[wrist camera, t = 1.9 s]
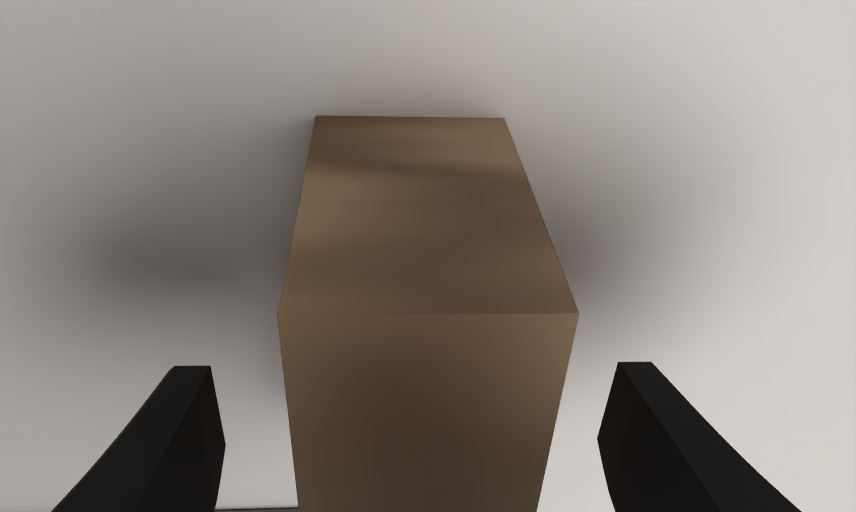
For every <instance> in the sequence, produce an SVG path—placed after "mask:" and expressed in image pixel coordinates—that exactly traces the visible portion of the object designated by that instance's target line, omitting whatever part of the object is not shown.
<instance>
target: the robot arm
mask: <svg viewBox="0 0 856 512" xmlns="http://www.w3.org/2000/svg"><path fill="white" fill-rule="evenodd" d="M597 440H598V445H599V450H600V455H601V460H602V464H603V469H604V473H605V478H606V482H607V486H608V490H609V494H610V497H611V500H612V503H613V506H614V509H615V512H801V511H800V510H799V509H798V508H797V507H795V506H794V505H793V504H792V503H791V502H790V501H789V500H788V499H787V498H785V497H784V496H783V495H782V494H781V493H780V492H779V491H778V490H777V489H776V488H774V487H773V486H772V485H771V484H770V483H769V482H768V481H767V480H766V479H765V478H764V477H762V476H761V475H760V474H759V473H758V472H757V471H756V470H755V469H754V468H753V467H752V466H751V465H750V464H749V463H748V462H747V461H746V460H745V459H744V458H743V457H742V456H741V455H740V454H739V453H738V452H737V451H736V450H735V449H734V448H733V447H732V446H731V445H730V444H729V443H728V442H727V441H726V440H725V439H724V438H723V437H722V436H721V435H720V434H719V433H718V432H717V431H716V430H715V429H714V428H713V427H712V426H711V425H710V424H709V423H708V422H707V421H706V420H705V419H704V418H703V417H702V416H701V414H700V413H699V412H698V411H697V410H696V409H695V408H694V407H693V406H692V405H691V404H690V403H689V402H688V401H687V400H686V398H685V397H684V396H683V395H682V394H681V393H680V392H679V391H678V390H677V389H676V388H675V387H674V386H673V385H672V383H671V382H670V381H669V380H668V379H667V378H666V377H665V376H664V375H663V374H662V373H661V372H660V371H659V369H658V368H657V367H656V366H655V365H654V364H653V363H652V362H618V364H617V368H616V372H615V375H614V379H613V383H612V386H611V390H610V394H609V397H608V401H607V405H606V408H605V412H604V416H603V419H602V423H601V427H600V430H599V434H598V438H597ZM225 446H226V444H225V439H224V434H223V429H222V423H221V418H220V413H219V408H218V403H217V397H216V392H215V387H214V382H213V377H212V372H211V366H174V367H173V368H172V369H171V370H169V371H168V373H167V374H166V375H165V377H164V378H163V379H162V381H161V382H160V383H159V385H158V386H157V387H156V389H155V390H154V391H153V393H152V394H151V395H150V397H149V398H148V399H147V400H146V402H145V403H144V404H143V406H142V407H141V408H140V409H139V411H138V412H137V413H136V415H135V416H134V417H133V418H132V420H131V421H130V422H129V423H128V425H127V426H126V427H125V428H124V430H123V431H122V432H121V433H120V434H119V436H118V437H117V438H116V439H115V440H114V442H113V443H112V444H111V445H110V446H109V448H108V449H107V450H106V451H105V452H104V453H103V455H102V456H101V457H100V458H99V459H98V461H97V462H96V463H95V464H94V465H93V466H92V468H91V469H90V470H89V471H88V472H87V473H86V474H85V476H84V477H83V478H82V479H81V480H80V481H79V482H78V483H77V484H76V485H75V486H74V488H73V489H72V490H71V491H70V492H69V493H68V494H67V495H66V496H65V497H64V498H63V499H62V501H61V502H60V503H59V504H58V505H57V506H56V507H55V508H54V509H53V510H52V511H51V512H214V509H215V506H216V502H217V496H218V491H219V485H220V479H221V472H222V466H223V459H224V453H225Z"/></svg>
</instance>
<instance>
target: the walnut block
mask: <svg viewBox="0 0 856 512" xmlns="http://www.w3.org/2000/svg"><path fill="white" fill-rule="evenodd" d="M578 316H579V312H578V310H577V307H576V304H575V302H574V299H573V297H572V294H571V291H570V289H569V286H568V283H567V281H566V278H565V276H564V273H563V270H562V268H561V265H560V263H559V260H558V257H557V255H556V252H555V250H554V247H553V244H552V242H551V239H550V237H549V234H548V231H547V229H546V226H545V223H544V221H543V218H542V216H541V213H540V210H539V208H538V205H537V203H536V200H535V197H534V195H533V192H532V190H531V187H530V184H529V182H528V179H527V176H526V174H525V171H524V169H523V166H522V163H521V161H520V158H519V156H518V153H517V150H516V148H515V145H514V143H513V140H512V137H511V135H510V132H509V129H508V127H507V124H506V122H505V119H504V118H451V117H381V116H316V119H315V124H314V129H313V134H312V139H311V145H310V150H309V155H308V160H307V165H306V170H305V175H304V181H303V186H302V191H301V196H300V201H299V206H298V212H297V217H296V222H295V227H294V232H293V237H292V243H291V248H290V253H289V258H288V263H287V268H286V273H285V279H284V284H283V289H282V294H281V299H280V304H279V310H278V315H277V317H278V326H279V335H280V344H281V353H282V362H283V371H284V380H285V389H286V398H287V408H288V417H289V426H290V435H291V444H292V453H293V462H294V471H295V480H296V489H297V498H298V507H299V512H536V511H537V507H538V502H539V497H540V493H541V488H542V483H543V479H544V474H545V469H546V465H547V460H548V455H549V451H550V446H551V441H552V437H553V432H554V428H555V423H556V418H557V414H558V409H559V404H560V400H561V395H562V390H563V386H564V381H565V376H566V372H567V367H568V362H569V358H570V353H571V348H572V344H573V339H574V335H575V330H576V325H577V321H578Z"/></svg>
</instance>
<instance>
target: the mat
mask: <svg viewBox="0 0 856 512" xmlns="http://www.w3.org/2000/svg"><path fill="white" fill-rule="evenodd" d="M214 512H299V509H270V510H233V511H214Z"/></svg>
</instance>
